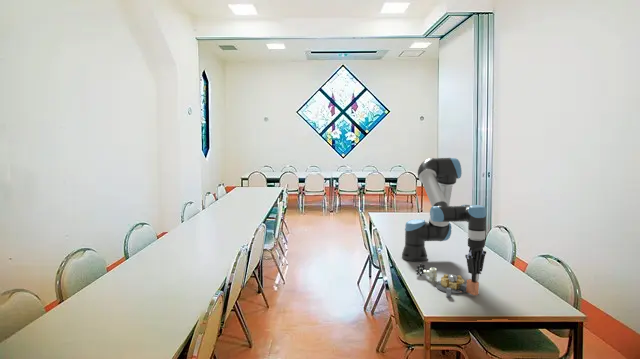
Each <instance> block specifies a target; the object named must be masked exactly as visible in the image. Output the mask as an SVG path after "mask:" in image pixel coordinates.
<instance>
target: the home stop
mask: <svg viewBox="0 0 640 359" xmlns="http://www.w3.org/2000/svg"><path fill="white" fill-rule="evenodd" d="M451 289H452V288H447V290H446V292H445V293H446V294H445V297H446V298H450V299H451V298H452V293H451Z"/></svg>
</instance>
